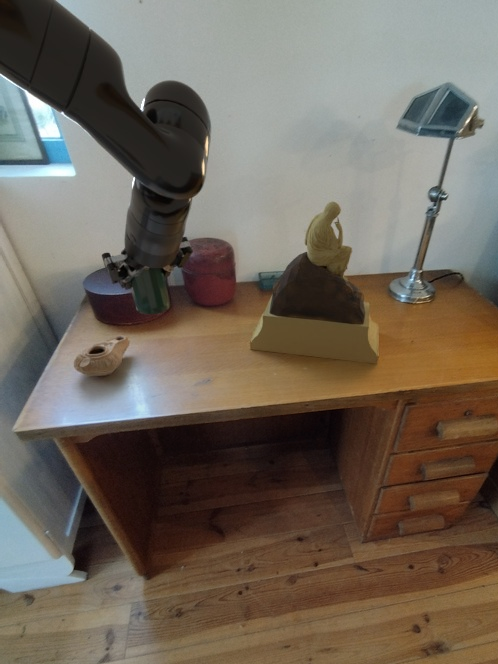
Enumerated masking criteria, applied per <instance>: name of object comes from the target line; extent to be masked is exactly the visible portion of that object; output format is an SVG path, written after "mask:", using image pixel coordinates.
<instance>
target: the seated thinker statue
mask: <svg viewBox="0 0 498 664" xmlns="http://www.w3.org/2000/svg"><path fill="white" fill-rule="evenodd" d="M341 211H342V208H341V206H340V204H339V203H338V202H336V201H331V202H328V203H327V204H326V205H325V206H324V208H323V211H322V212H319V213H318V214H316V215H313V217H312V219H311V220H310V222H309V224H308V226H307V229H306V232H305V236H304V237H305V238H304V246H306V249H307V250H306V251H305V252H302V253H299V254H298V255H297V256H296V257H294V258H292V260H291V261H290V262H289V263H288V264H287V265H286V267H285V269H284V271H283V272H282V274H281V275H280V276H279V277H278V278H277V279H276V280H275V281H274V282H273V284H272V293H271V297H270V299H269V301H268V303H267V305H266V307H265V310H264V311H263V313H262V314H261V316H260V318H259V321H258V322H257V325H256V327H255V330H254V332H253V333H252V336H251V338H250V339H249V349H250V350H252V351H253V350H254V351H260V352H271V353H279V354H288V355H296V356H306V357H314V358H322V359H330V360H339V361H340V360H341V361H349V362H356V363H357V362H358V363H367V364H376V365H378V362H379V357H380V333H379V332H380V329H379V328H380V326H379V325H380V324H377V323H376V322H375V321H373V320H372V318H371V316H370V303H371V302H369V301H365V295H364V293H363V291H362V290H361V289H360V288H359V287H358V285H357V286H356V285H355V284H354V283H353V282H352V281H350V279H349V278H348V277H347V276H346V275H345V273H346V271H347V270H348V266H349V263H350V259H351V257H352V253H353V247H351V246H350V245H343V242H344V233H343V232H344V231H343V227H342V225H341V222H340V218H339V217H338V216H339V215H340V214H341ZM336 218H337V221H335V222H334V220H336ZM332 224H334V225H335V227H336V229H337V230H338V235H337V236H336V233H335V230H334V229H335V228H333V226H332Z"/></svg>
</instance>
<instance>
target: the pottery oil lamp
mask: <svg viewBox="0 0 498 664" xmlns="http://www.w3.org/2000/svg"><path fill="white" fill-rule="evenodd" d="M130 342H131V341H130V340H129V338H128V337H127V335H117V336H114V337H112V338H110V339H107V340H105V341H102V342H99V343H95V344H93V345H91V346H90V347H87V348H85V349H83V350H82V351H80V353H78V355H77V356H76V357H75V359H74V361H73V368H74V369H75V371H77V372H79V373H80V374H83V375H85V376H95V377H105V376H109V375H111V374H112V373H114V372H115V371H116V369H118V367H119V366H121V364H122V362H123V357H124V355H125V353H126V351H127V350H128V348H129V347H130V344H131V343H130Z"/></svg>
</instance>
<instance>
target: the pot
mask: <svg viewBox="0 0 498 664" xmlns="http://www.w3.org/2000/svg"><path fill="white" fill-rule="evenodd" d="M126 271H127V270H126ZM130 292H131V296H132V298H133V303H134V306H135V309H136V311H137V312H138V313H140V314H144V315H157V314H161V313H163V312H165V311H167V310H168V309H170V306H171V301H170V295H169V291H168V287H167V282H166V280H165V277H164V272H163V268H149V269H148V270H145V271H144V272H143V273H142V274H141V275H140V276H139V277H133V278H132V279H131V287H130Z"/></svg>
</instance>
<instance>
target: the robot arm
mask: <svg viewBox="0 0 498 664" xmlns="http://www.w3.org/2000/svg"><path fill="white" fill-rule="evenodd" d="M123 64H124V63H123V61H122V59H121V56H120V55H119V53H118V52H117V51H116V49H115V48H113V46H112V45H111V44H109V42H107V40H105V39H104V38H103V37H102V36H101V35H99V34H98V33H97V32H96V31H94V30H93V29H92V28H90V27H89V26H88V25H87V24H86V23H84V22H83V21H82V20H81V19H79V18H78V17H77V16H76V15H75V14H73V13H72V12H71V11H70V10H68V9H67V8H66V7H65V6H64V5H62V4H61V3H60V2H59V1H58V0H0V76H1V77H3V78H4V79H6V80H7V81H9V82H10V83H12V84H13V85H15V86H16V87H18V88H20V89H21V90H23V91H24V92H26V93H28V94H30V95H31V96H33V97H34V98H36V99H38V100H39V101H40V102H42V103H43V104H45V105H47V106H48V107H50V108H51V109H53V110H54V111H56V112H58V113H59V114H62V116H64V117H66V118H67V119H69V120H71V121H72V122H74V123H75V124H77V125H78V126H80V127H81V129H82V130H84V131H85V132H86V133H87V134H88V135H89V136H90V137H91V138H92V139H93V141H95V142H96V143H97V144H98V145H99V146H100V147H101V148H102V149H104V150H105V151H106V152H107V153H108V155H110V156H111V157H112V158H113V160H115V161H116V162H117V163H118V164H120V166H121V167H122V168H124V169H125V171H126V172H128V173H129V174H130V176H132V177H133V178H132V179H133V180H132V184H131V190H130V200H129V203H128V207H127V211H126V220H125V227H124V228H125V230H124V248H123V249H122V250H121V252H120V254H118V255H111V253H110V252H103V253H102V254H101V258H102V261H103V262H102V263H103V265H104V269H105V272H106V273H107V274H108V276H109V279H110V281H111V283H112V284H114V285H115V284H118V283H119V286H120V287H121V288H122V289H125V291H127V290H131V288H130V287H131V279H132V278H133V277H139V276H140V275H141V274H142V273H143V272H144V271H145V270H148V269H149V268H163V272H164V277H165V281H167V280H168V277H170V276H171V273H172V272H173V271H174V270H175V268H176V267H177V268H178V269H182V268H183V267H185V265H186V263H187V262H188V261H189V260H190V259H189V258H190V257H191V256H192V254H193V252H194V250H193V248H192V246H191V243H190V242H189V239H188V237H187V236H184V235H185V231H186V225H187V220H188V219H189V215H190V212H191V209H192V205H193V198H195V197H197V195H198V194H200V192H201V191H202V189H203V187H204V185H205V182H206V178H207V172H208V171H207V170H208V163H209V154H210V147H211V146H210V145H211V137H212V121H211V116H210V112H209V110H208V107H207V105H206V104H205V102H204V100H203V98H202V97H201V96H200V94H199V93H198V92H196V90H194V89H193V88H192V87H191V86H189V85H188V84H186V83H184V82H182V81H178V80H172V79H169V80H168V79H167V80H163V81H159V82H157V83H156V84H154V85H153V86H151V87H150V88H149V89H148V91H147V92H146V94H145V96H144V97H143V100H142V103H141V107H139V106H138V104H137V103H136V102H135V101H134V99H132V97H131V96H130V93H129V90H128V88H127V84H126V77H125V70H124V69H125V68H124V65H123ZM126 270H127V271H126Z"/></svg>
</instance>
